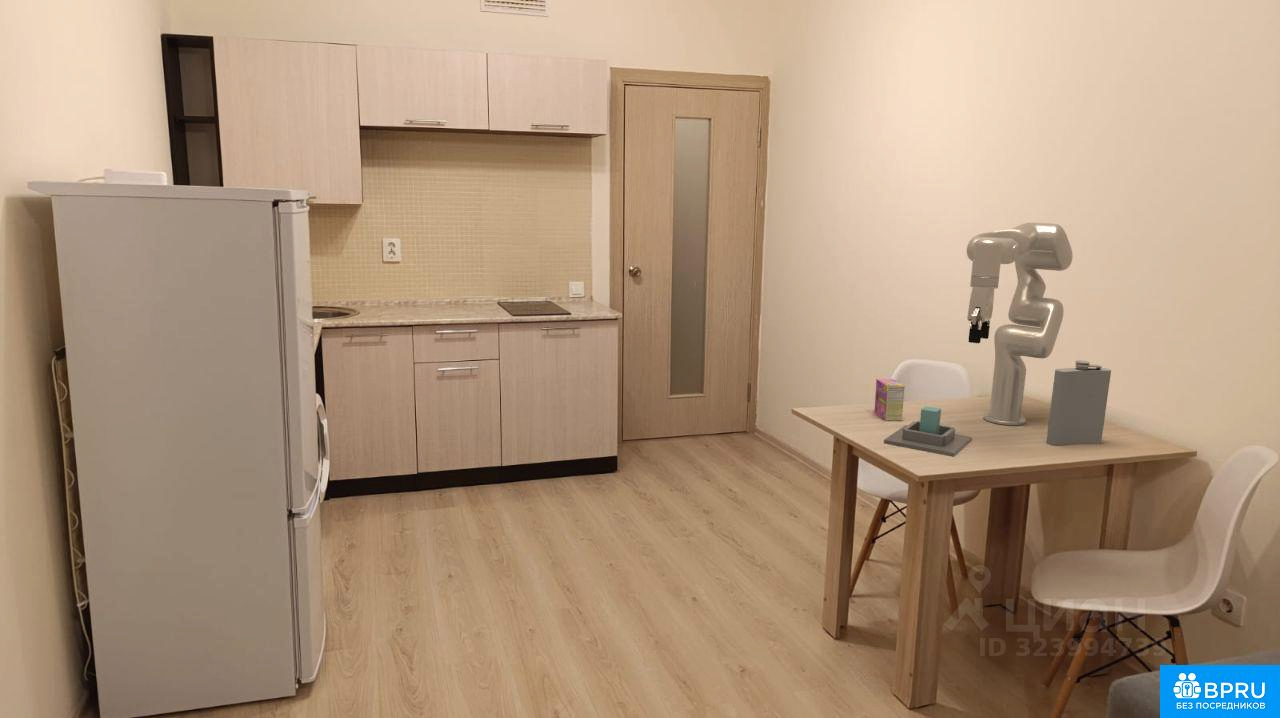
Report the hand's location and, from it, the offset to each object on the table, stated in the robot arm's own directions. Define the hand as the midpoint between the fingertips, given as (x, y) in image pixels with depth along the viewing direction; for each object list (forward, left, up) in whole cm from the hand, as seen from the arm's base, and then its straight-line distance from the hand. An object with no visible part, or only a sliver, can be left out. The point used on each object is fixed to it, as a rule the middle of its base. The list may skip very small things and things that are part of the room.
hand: (978, 340), depth 247 cm
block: (+10, -9, -29) cm, 32 cm away
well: (+10, -9, -30) cm, 33 cm away
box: (-10, -28, -31) cm, 43 cm away
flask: (-17, +26, -31) cm, 44 cm away
